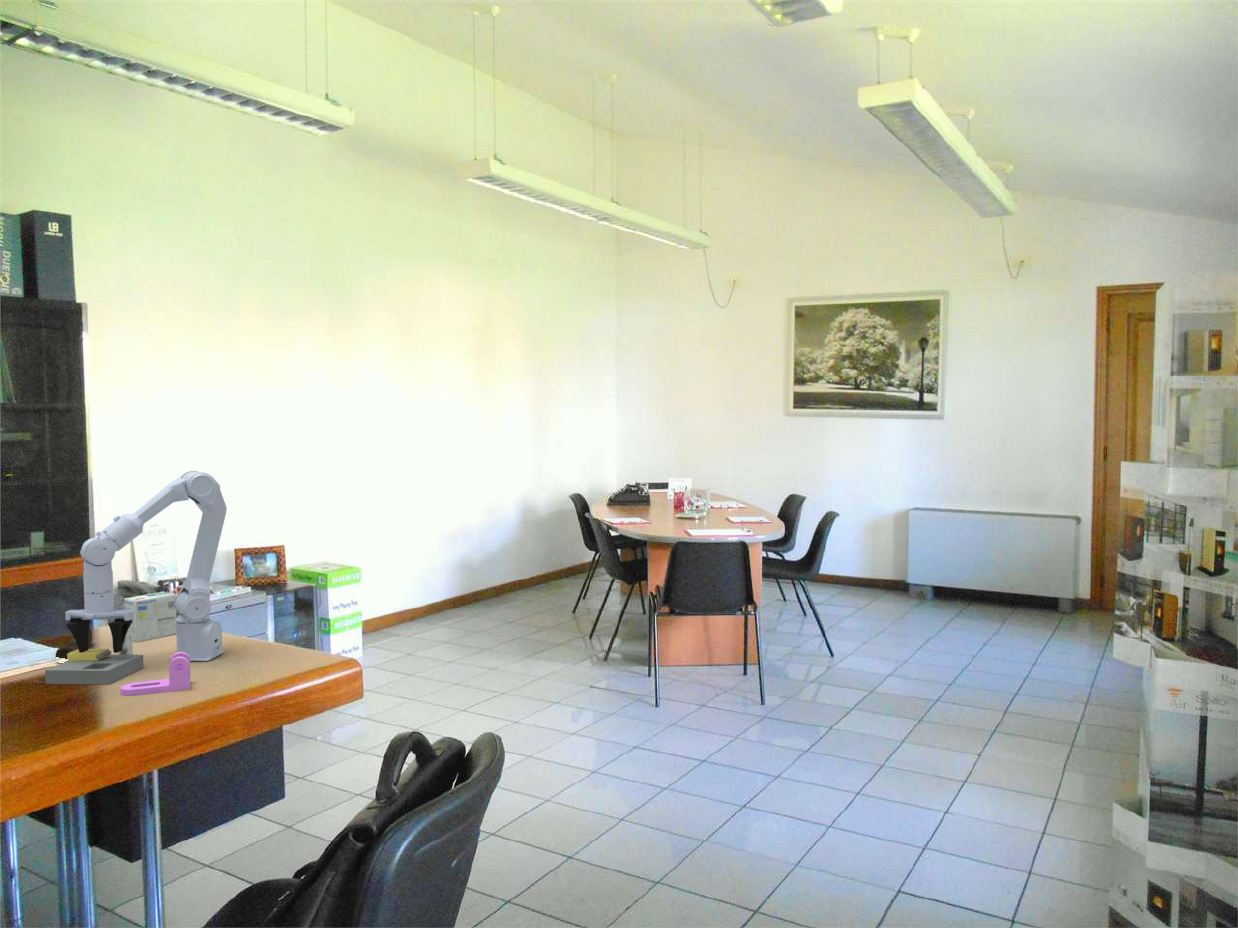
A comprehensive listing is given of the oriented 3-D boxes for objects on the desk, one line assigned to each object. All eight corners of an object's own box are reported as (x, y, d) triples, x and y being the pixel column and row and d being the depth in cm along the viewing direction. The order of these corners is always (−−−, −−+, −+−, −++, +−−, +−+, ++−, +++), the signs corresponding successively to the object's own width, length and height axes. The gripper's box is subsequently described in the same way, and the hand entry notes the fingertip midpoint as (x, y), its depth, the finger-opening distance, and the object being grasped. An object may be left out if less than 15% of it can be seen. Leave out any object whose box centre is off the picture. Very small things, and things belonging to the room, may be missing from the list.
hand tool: (74, 663, 211) (73, 644, 211) (55, 665, 211) (54, 645, 210) (102, 644, 230) (102, 626, 230) (85, 645, 229) (84, 626, 229)
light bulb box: (165, 630, 243) (163, 590, 242) (178, 633, 239) (177, 593, 238) (124, 638, 234) (122, 597, 234) (137, 642, 230) (135, 600, 230)
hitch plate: (143, 667, 207) (143, 654, 207) (108, 684, 194) (108, 670, 194) (84, 667, 208) (83, 654, 207) (45, 683, 195) (44, 670, 194)
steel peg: (136, 662, 212) (134, 628, 211) (128, 665, 209) (127, 631, 208) (123, 661, 212) (122, 628, 211) (115, 665, 209) (114, 631, 208)
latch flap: (111, 655, 206) (111, 648, 205) (100, 660, 202) (100, 653, 201) (79, 655, 206) (78, 648, 206) (67, 660, 202) (67, 653, 202)
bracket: (190, 682, 195) (189, 650, 195) (189, 689, 190) (188, 657, 190) (122, 690, 190) (121, 657, 190) (119, 697, 185) (118, 664, 185)
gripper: (55, 594, 199) (57, 655, 200) (119, 595, 198) (121, 656, 199) (76, 588, 206) (78, 647, 207) (138, 589, 205) (140, 648, 206)
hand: (100, 651), depth 203 cm, fingers open, 7 cm apart
